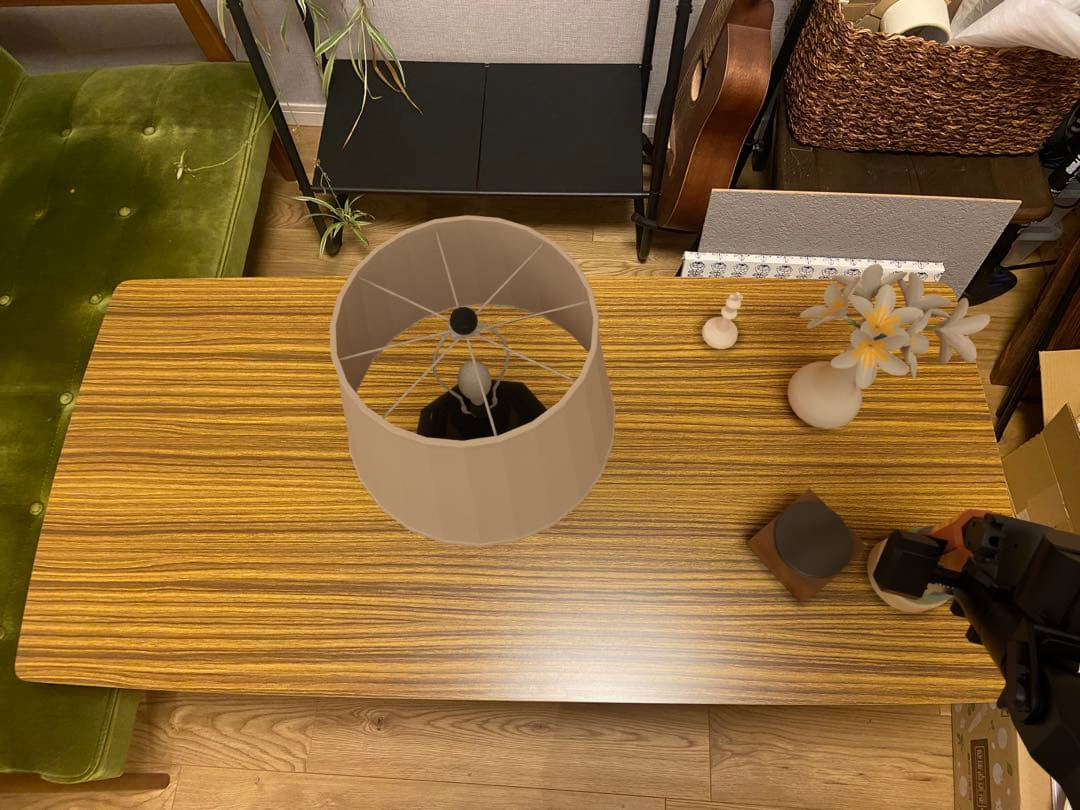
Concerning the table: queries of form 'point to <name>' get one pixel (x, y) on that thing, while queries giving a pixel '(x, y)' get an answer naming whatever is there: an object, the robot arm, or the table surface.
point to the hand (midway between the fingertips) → (951, 541)
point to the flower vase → (875, 342)
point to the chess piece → (723, 325)
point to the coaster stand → (806, 546)
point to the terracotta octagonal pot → (956, 537)
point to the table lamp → (473, 384)
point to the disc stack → (898, 601)
